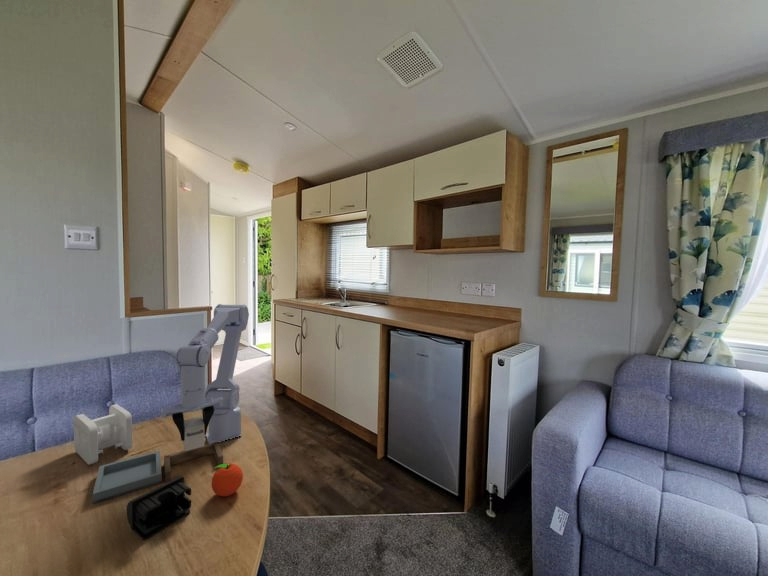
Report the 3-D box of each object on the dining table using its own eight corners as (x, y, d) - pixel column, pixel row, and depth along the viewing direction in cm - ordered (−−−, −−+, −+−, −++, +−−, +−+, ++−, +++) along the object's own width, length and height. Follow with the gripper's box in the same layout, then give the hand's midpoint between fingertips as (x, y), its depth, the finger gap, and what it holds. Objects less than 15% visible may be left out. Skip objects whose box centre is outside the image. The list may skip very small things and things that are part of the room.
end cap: (177, 499, 75) (177, 472, 75) (193, 512, 71) (193, 482, 71) (126, 528, 66) (125, 496, 66) (141, 543, 63) (140, 510, 62)
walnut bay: (217, 449, 96) (217, 441, 96) (223, 464, 89) (223, 455, 89) (164, 464, 88) (163, 456, 88) (165, 482, 81) (165, 473, 81)
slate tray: (160, 458, 91) (159, 450, 91) (161, 482, 81) (161, 473, 80) (99, 475, 83) (99, 466, 83) (92, 504, 73) (92, 493, 73)
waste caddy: (201, 436, 91) (201, 416, 91) (205, 447, 86) (204, 426, 85) (183, 441, 89) (183, 420, 88) (185, 453, 83) (185, 431, 83)
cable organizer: (134, 452, 94) (134, 414, 94) (87, 470, 85) (86, 428, 85) (116, 437, 102) (115, 402, 102) (71, 452, 93) (70, 413, 93)
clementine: (200, 500, 75) (200, 471, 74) (220, 481, 81) (220, 454, 81) (230, 505, 73) (230, 475, 73) (248, 485, 80) (248, 458, 80)
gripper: (161, 398, 79) (162, 451, 80) (225, 387, 88) (225, 434, 89) (160, 390, 85) (161, 439, 86) (220, 380, 94) (220, 424, 94)
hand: (193, 436), depth 88 cm, fingers closed on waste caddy, 4 cm apart
